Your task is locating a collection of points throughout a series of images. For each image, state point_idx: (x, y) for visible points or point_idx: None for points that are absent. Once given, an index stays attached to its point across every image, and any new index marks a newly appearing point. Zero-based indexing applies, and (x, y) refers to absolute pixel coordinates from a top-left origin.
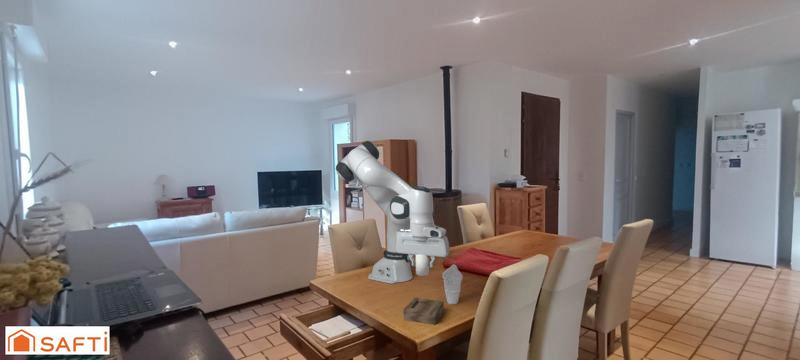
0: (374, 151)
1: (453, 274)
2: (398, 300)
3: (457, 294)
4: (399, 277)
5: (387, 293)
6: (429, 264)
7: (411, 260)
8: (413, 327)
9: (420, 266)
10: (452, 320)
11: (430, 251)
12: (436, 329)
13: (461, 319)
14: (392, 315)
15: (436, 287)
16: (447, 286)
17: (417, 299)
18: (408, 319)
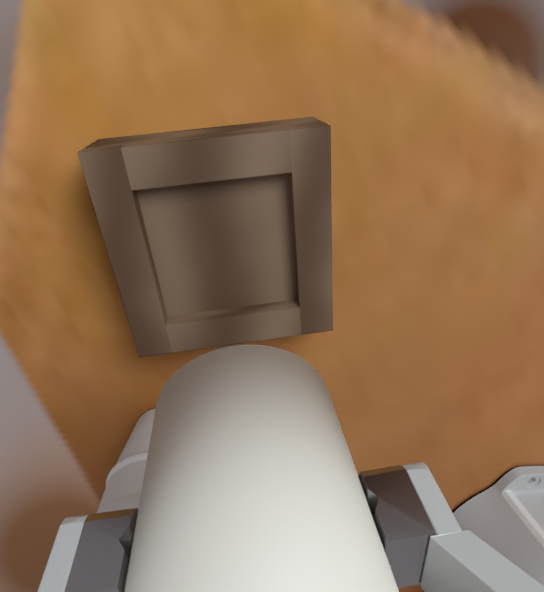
0: None
1: None
2: (432, 335)
3: (117, 461)
4: (497, 512)
5: (510, 379)
6: (91, 563)
7: (477, 546)
8: (204, 30)
9: (235, 454)
10: (41, 244)
11: None
12: (50, 74)
13: (5, 278)
14: (403, 146)
15: None
16: None
17: (304, 314)
18: (282, 121)
